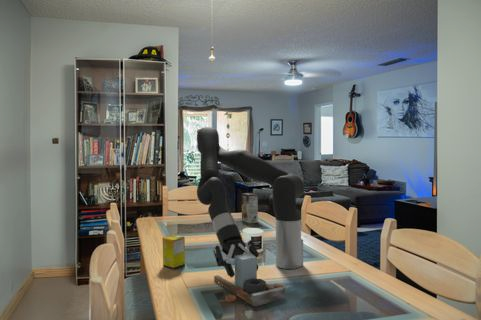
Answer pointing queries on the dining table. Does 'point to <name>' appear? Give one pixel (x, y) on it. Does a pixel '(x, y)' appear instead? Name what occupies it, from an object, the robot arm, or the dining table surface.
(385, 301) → the dining table surface
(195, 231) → the dining table surface
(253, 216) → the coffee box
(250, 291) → the rubber ring
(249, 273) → the gray block
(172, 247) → the supplement box
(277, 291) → the guide channel
